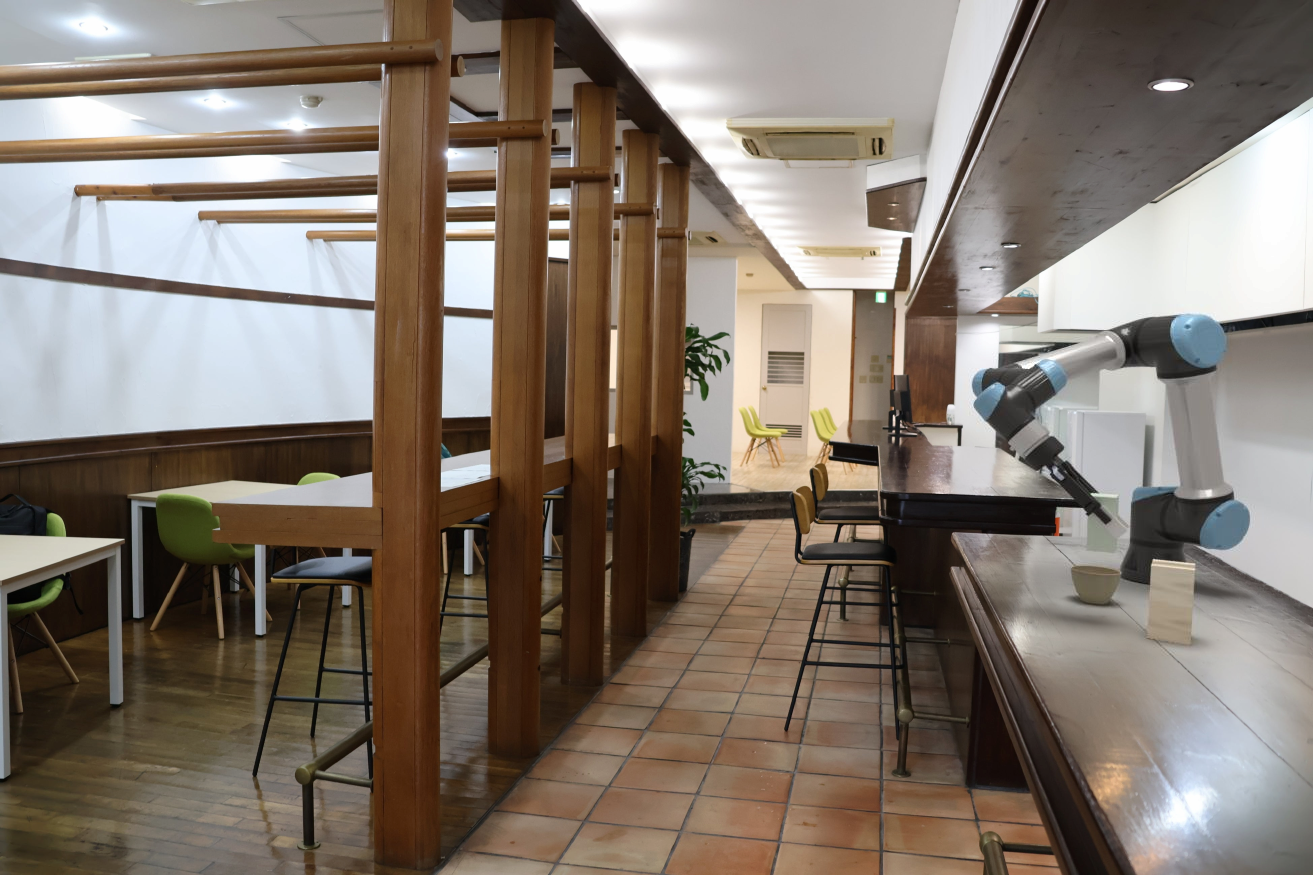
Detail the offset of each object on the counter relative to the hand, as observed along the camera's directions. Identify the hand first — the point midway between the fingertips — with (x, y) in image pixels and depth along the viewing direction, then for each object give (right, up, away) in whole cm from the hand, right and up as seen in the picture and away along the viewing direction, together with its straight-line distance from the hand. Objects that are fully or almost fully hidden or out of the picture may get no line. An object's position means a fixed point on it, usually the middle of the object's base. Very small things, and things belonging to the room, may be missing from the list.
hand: (1123, 532), depth 175 cm
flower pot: (+3, -17, +19) cm, 26 cm away
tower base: (+5, -19, -8) cm, 21 cm away
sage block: (-3, -4, +2) cm, 5 cm away
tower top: (+5, -12, -8) cm, 15 cm away
